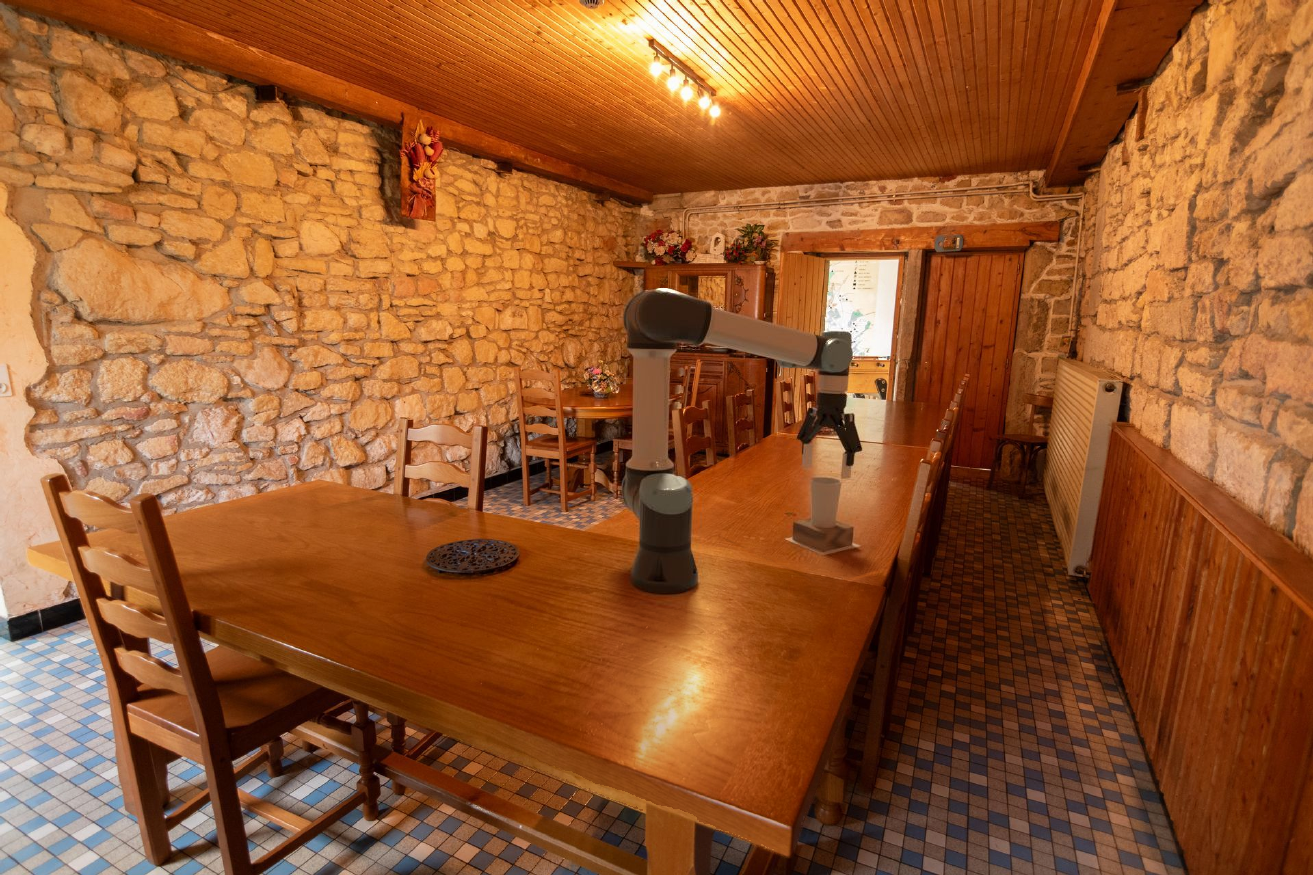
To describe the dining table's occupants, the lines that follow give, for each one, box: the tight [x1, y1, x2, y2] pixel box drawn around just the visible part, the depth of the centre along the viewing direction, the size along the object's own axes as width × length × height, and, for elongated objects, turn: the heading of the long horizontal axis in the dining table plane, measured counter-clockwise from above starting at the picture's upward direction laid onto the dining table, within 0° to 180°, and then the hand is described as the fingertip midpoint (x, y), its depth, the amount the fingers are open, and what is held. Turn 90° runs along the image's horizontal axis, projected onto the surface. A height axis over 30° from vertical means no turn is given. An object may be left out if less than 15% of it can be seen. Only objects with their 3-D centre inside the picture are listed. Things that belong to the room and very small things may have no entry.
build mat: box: [785, 536, 861, 556], centre depth 165 cm, size 14×14×1 cm
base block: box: [792, 517, 854, 552], centre depth 164 cm, size 11×11×5 cm
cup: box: [809, 476, 843, 528], centre depth 163 cm, size 8×8×12 cm
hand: (825, 472), depth 161 cm, fingers open, 13 cm apart
